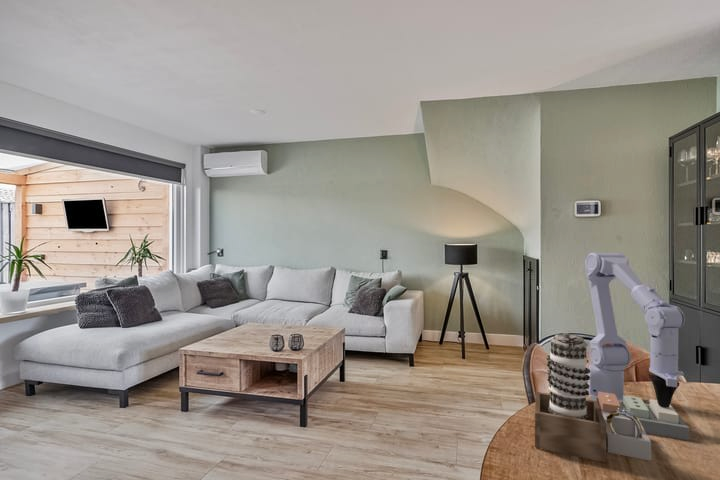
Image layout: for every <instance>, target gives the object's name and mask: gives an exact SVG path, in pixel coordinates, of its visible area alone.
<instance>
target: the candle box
mask: <svg viewBox="0 0 720 480" xmlns="http://www.w3.org/2000/svg"><path fill="white" fill-rule="evenodd" d="M549 406H550V393H547V392H541V391H535V408H534V410H535V411H534V412H535V413H534V448H535V447H537V448H536V449H539V448H542V449H541V450H544V449H546V450H545V451H549V450H550V452H554V453H560V454H563V453H564V455H568V456H574V457H578V458H583V459H588V460H593V461H597V462H603V463H607V448H606V423H605V420H604V417H603V414H602V412H601V409H600V406H599V403H598V401H593V400H591V399H587V398H586V406H587V415H588V420H584V419H578V418H572V417H567V416H561V415H555V414H549V411H548V407H549Z"/></svg>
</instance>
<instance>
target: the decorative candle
mask: <svg viewBox="0 0 720 480" xmlns="http://www.w3.org/2000/svg"><path fill="white" fill-rule="evenodd" d="M549 341H550V352H549V355H547V356H546V361H547V363H546V366H547V367H548V370H547V375H548V376H547V379H546V380H547V382H548V390H549V391H550V393H549V394H550V406H549V407H548V411H549V414H555V415H561V416H567V417H572V418H578V419H584V420H588V415H587V406H586V399H587V397H588V396H590V394H589V391H588V388H589V385H588V384H587V383H588V380H590V376H588V373H590V370H589V369H588V367H586V366H587V365H588V363H590V362H589V359H588V356H587V347H588V346H589V343H588V342H586V341H585V340H584V337H582V336H580V335H578V334H573V333H566V332H564V333H563V332H560V333H556V334H555V335H554V336H553V338H550V340H549ZM586 381H587V382H586Z"/></svg>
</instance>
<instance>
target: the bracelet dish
mask: <svg viewBox="0 0 720 480" xmlns="http://www.w3.org/2000/svg"><path fill="white" fill-rule="evenodd" d="M608 416H609V415H608V414H603V417H604V420H605V423H606V452H607V453H608V454H609V453H610V454H614V455H621V456H625V457H631V458H635V459H639V460H645V461H650V462H651V461H652V441H651V440H650V438H649V436H648V433H646V432H645V430H644V428H643V427H642V433H641V438H636V436H637V428H636V426H635V424H634V422H633V421H632V420H631V419H630V418H626V417H620V416H615V417H613V418H612V421H611V423H612V427H613V429H614V431H615V432H616V433H617V434H613V433H612V431H611V428H610V426H609V423H608V422H607V417H608ZM638 421H639V420H638ZM639 422H640V421H639ZM640 424H641V423H640ZM641 426H642V425H641Z"/></svg>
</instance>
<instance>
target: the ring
mask: <svg viewBox="0 0 720 480" xmlns="http://www.w3.org/2000/svg"><path fill="white" fill-rule="evenodd" d="M628 410H629V409H627V410H625V408H623V409H621V410H620V409H619V408H618V410H615V411H613V412H612V413H611V414H610V415H609V416H608V417H607V422H608V423H609V426H610V428H611V431H612V433H613V434H617V433H616V432H615V431H614V429H613V427H612V423H611V421H612V418H613V417H615V416H619V415H621V416H626V417H628V418H630V419H631V420H632V421H633V422H634V424H635V426H636V428H637V436H636V438H641V433H642V426H641V424H640V422H639V421H638V419H637V418H636V417H635V416H633V413H632V414H631V411H628Z"/></svg>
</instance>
